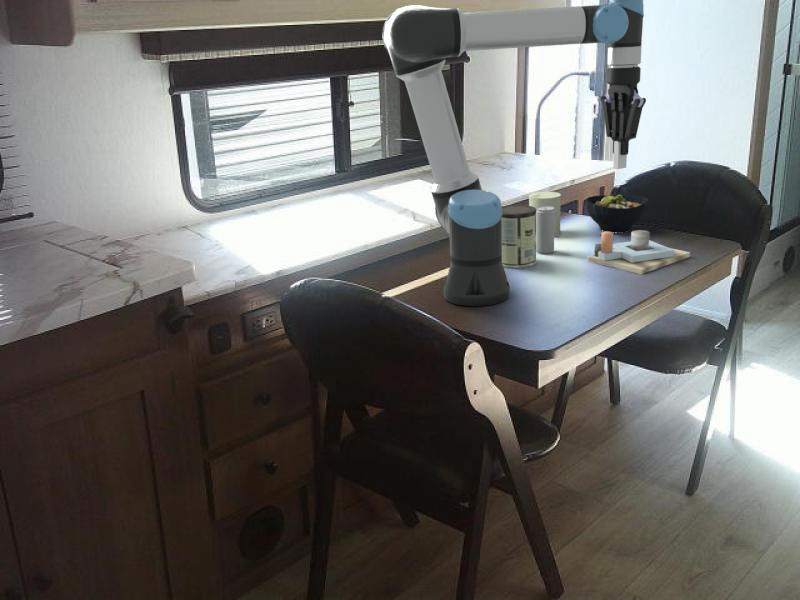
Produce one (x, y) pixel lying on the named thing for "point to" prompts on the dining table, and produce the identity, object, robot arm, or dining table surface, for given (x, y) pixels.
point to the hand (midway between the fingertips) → (619, 167)
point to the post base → (638, 244)
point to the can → (548, 200)
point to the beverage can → (545, 229)
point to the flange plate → (630, 250)
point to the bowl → (616, 211)
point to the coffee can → (518, 236)
